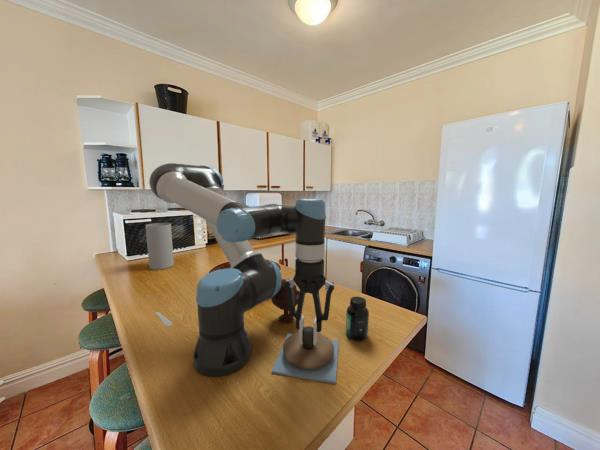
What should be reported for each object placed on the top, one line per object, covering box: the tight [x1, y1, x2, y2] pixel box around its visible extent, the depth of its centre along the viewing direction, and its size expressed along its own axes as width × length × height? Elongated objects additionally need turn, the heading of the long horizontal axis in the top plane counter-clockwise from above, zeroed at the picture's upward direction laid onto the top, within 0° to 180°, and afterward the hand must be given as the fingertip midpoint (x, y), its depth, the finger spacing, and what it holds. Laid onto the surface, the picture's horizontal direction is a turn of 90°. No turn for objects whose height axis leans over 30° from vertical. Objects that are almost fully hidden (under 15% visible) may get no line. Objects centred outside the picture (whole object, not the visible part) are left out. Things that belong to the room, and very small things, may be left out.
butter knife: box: [154, 311, 173, 328], centre depth 89 cm, size 1×27×3 cm
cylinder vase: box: [145, 222, 175, 271], centre depth 138 cm, size 12×12×25 cm
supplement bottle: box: [345, 296, 370, 342], centre depth 75 cm, size 7×7×12 cm
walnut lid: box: [282, 325, 334, 369], centre depth 66 cm, size 14×14×6 cm
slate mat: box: [271, 333, 340, 385], centre depth 66 cm, size 16×16×1 cm
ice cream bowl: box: [270, 278, 300, 324], centre depth 84 cm, size 11×11×15 cm
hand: (308, 340), depth 66 cm, fingers closed on walnut lid, 3 cm apart
